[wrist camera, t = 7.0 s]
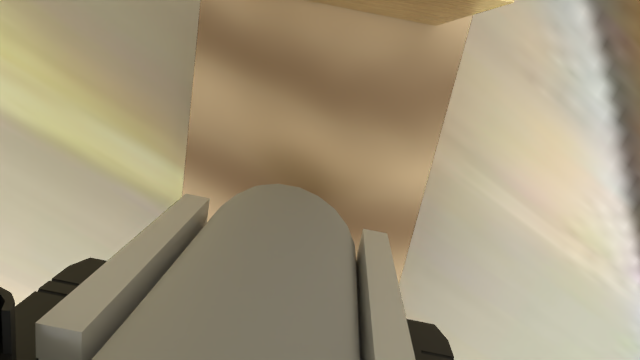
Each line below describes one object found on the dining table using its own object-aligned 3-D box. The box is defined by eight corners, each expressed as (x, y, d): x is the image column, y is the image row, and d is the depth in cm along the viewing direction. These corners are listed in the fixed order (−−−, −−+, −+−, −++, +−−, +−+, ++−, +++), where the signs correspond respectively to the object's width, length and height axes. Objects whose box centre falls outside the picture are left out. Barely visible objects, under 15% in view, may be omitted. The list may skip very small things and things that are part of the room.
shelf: (217, -87, 19) (12, -310, 7) (479, -36, 19) (694, -178, 7) (174, 350, 26) (34, 591, 14) (364, 388, 26) (379, 660, 14)
